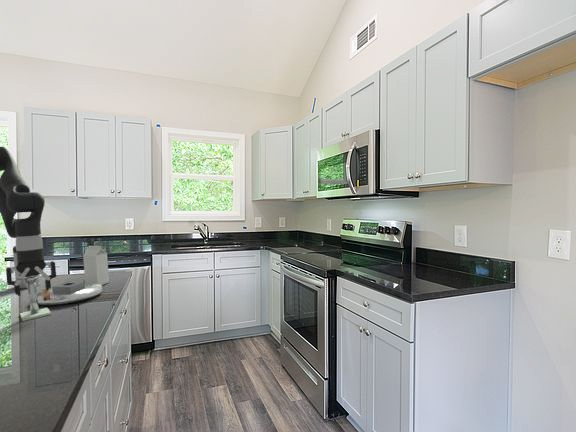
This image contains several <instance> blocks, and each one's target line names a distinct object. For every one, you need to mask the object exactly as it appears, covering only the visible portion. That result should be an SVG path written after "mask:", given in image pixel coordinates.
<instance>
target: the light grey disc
mask: <svg viewBox="0 0 576 432" xmlns="http://www.w3.org/2000/svg"><path fill="white" fill-rule="evenodd" d="M102 292H103V285H100V284H95V283H85V281H66V282H65V281H64V282H63V283H59V284H57V285H53V286H51V288H50V289H49V290H48V291H46V288H44V289H42V291H40V292H37V298H38V306H53V305H55V306H57V305H65V304H69V303H75V302H79V301H84V300H87V299H91V298H93V297H95V296H98V295H99V294H101V293H102Z"/></svg>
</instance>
